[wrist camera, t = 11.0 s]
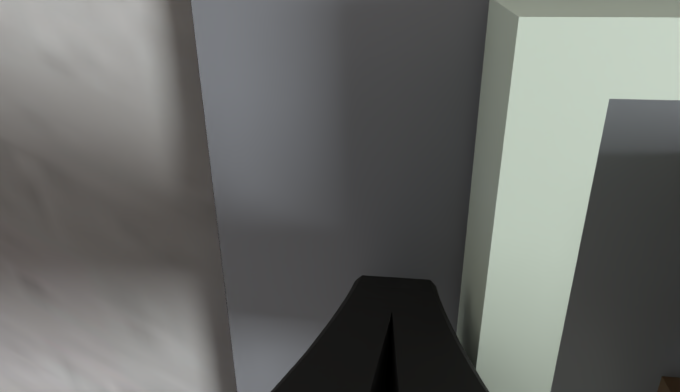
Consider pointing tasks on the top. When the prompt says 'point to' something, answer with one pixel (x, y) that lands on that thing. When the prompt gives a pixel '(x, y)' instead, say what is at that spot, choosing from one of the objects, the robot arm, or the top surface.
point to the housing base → (409, 183)
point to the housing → (546, 165)
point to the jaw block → (669, 384)
